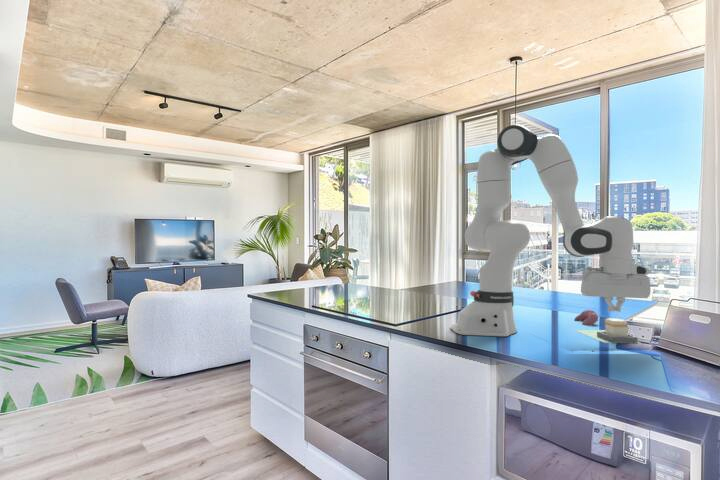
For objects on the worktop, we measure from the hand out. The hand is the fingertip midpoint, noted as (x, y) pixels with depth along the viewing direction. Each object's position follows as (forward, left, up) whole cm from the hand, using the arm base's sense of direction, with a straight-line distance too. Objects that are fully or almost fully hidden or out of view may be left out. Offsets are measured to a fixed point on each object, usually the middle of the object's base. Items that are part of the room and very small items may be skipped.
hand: (614, 311), depth 128 cm
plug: (+1, 0, -9) cm, 9 cm away
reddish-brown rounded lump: (+6, +26, -10) cm, 28 cm away
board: (0, +4, -10) cm, 10 cm away
